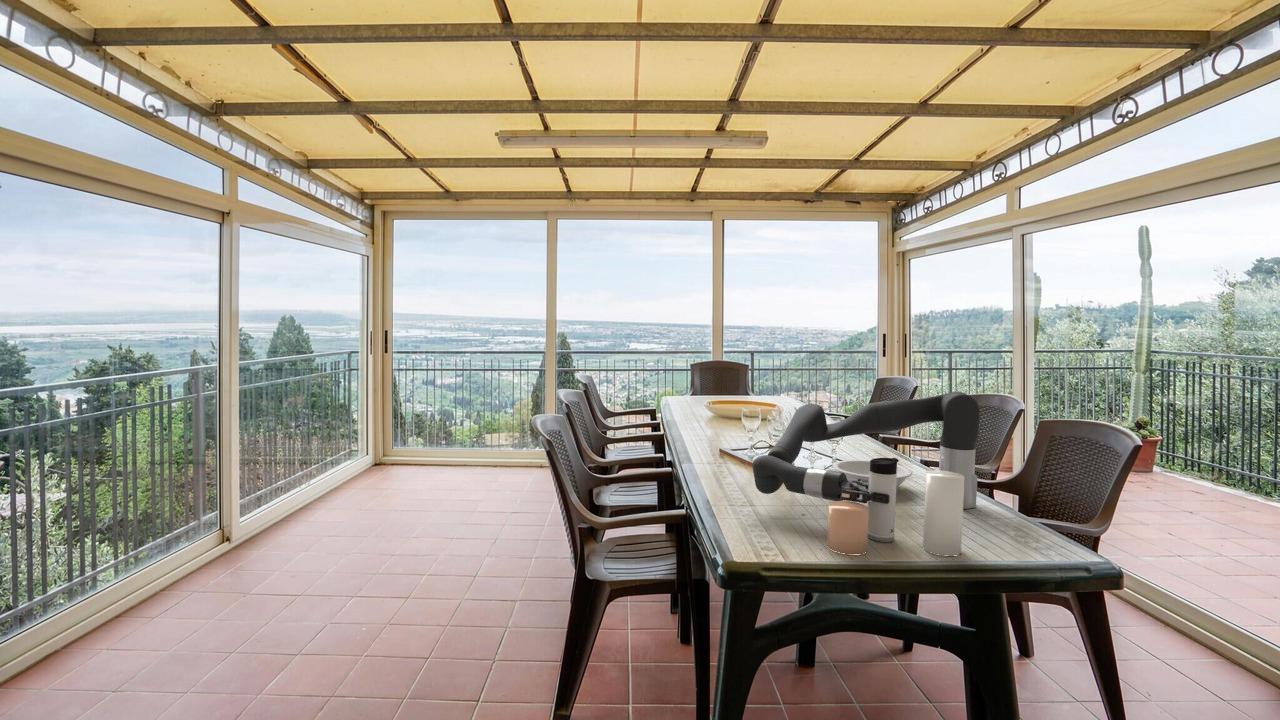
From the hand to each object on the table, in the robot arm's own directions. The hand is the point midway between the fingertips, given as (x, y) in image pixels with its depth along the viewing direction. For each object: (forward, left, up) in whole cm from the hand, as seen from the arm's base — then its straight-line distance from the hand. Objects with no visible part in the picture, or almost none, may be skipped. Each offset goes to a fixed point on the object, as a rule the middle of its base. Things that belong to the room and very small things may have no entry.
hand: (892, 496), depth 143 cm
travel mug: (+2, -1, -11) cm, 11 cm away
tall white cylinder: (-10, +5, -11) cm, 16 cm away
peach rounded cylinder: (+12, +7, -11) cm, 18 cm away
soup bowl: (-8, -48, -11) cm, 50 cm away
